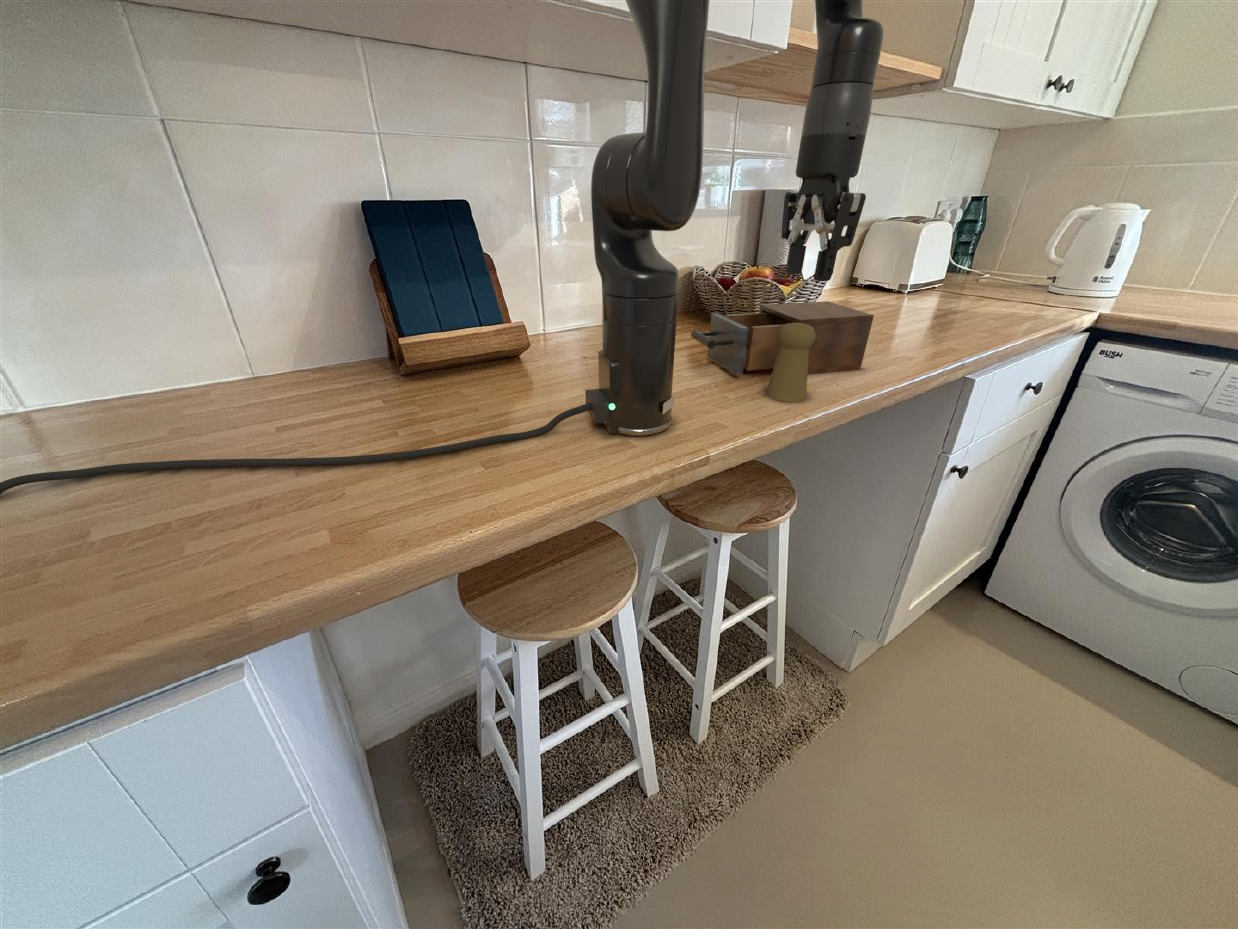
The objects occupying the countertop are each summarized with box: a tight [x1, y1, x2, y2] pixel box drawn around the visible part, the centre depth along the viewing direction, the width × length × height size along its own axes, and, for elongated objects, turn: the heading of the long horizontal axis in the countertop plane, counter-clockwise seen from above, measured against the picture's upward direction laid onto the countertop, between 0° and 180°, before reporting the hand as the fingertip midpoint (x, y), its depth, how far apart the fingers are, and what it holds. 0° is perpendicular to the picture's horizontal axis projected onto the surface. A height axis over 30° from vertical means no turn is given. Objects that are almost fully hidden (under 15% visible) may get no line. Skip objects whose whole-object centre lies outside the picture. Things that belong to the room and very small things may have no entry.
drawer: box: [690, 312, 794, 376], centre depth 87 cm, size 18×11×8 cm, turn 106°
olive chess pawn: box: [765, 323, 815, 403], centre depth 75 cm, size 6×6×11 cm
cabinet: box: [759, 300, 875, 375], centre depth 90 cm, size 15×13×10 cm
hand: (807, 276), depth 69 cm, fingers open, 6 cm apart
